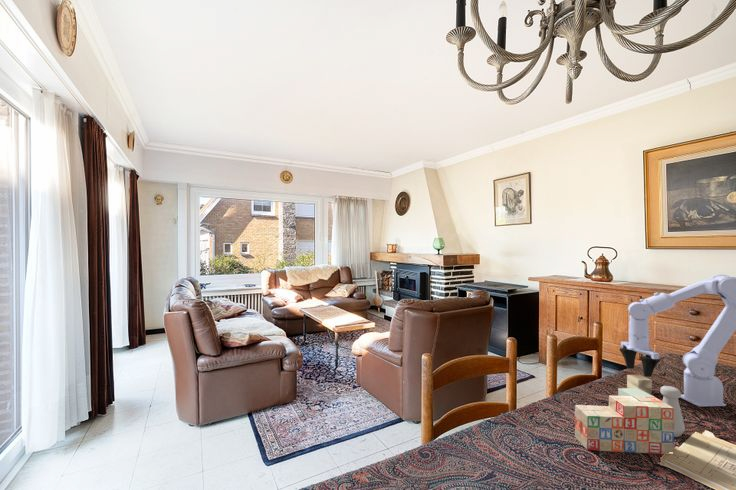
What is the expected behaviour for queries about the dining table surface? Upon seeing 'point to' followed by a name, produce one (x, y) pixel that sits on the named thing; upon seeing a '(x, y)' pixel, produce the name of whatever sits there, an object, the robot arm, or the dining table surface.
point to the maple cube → (639, 383)
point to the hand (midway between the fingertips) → (638, 372)
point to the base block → (632, 392)
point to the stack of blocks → (626, 425)
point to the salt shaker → (672, 399)
